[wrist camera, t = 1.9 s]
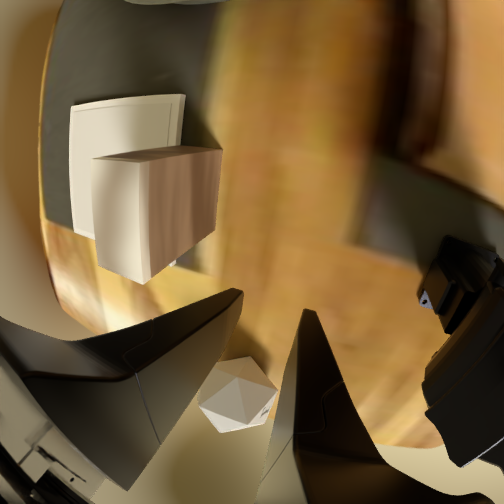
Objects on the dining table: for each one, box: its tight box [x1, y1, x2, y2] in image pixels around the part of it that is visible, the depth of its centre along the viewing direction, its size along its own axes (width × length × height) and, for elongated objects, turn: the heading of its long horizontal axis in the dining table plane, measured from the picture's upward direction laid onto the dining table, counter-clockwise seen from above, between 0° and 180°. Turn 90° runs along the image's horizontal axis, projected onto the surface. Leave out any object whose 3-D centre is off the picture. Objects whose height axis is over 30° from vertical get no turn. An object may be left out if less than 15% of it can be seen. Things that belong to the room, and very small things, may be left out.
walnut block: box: [91, 145, 223, 284], centre depth 18 cm, size 4×7×10 cm, turn 172°
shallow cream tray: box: [69, 94, 186, 266], centre depth 24 cm, size 16×16×1 cm
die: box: [197, 356, 278, 433], centre depth 26 cm, size 8×9×10 cm
